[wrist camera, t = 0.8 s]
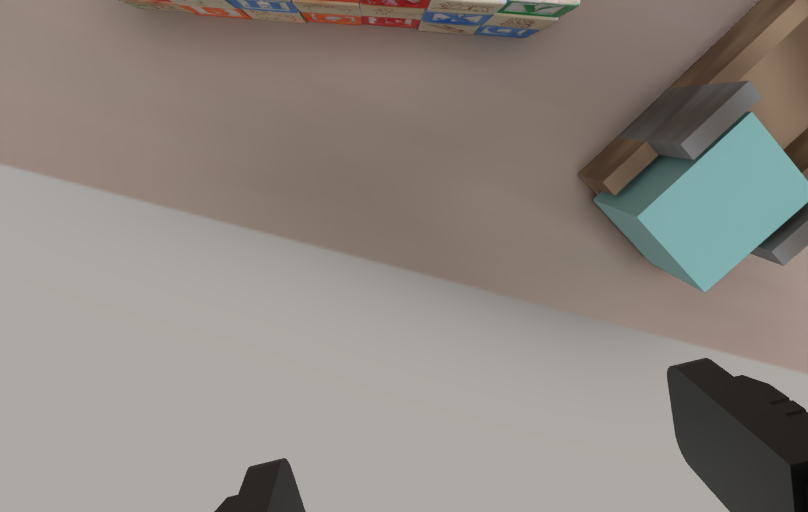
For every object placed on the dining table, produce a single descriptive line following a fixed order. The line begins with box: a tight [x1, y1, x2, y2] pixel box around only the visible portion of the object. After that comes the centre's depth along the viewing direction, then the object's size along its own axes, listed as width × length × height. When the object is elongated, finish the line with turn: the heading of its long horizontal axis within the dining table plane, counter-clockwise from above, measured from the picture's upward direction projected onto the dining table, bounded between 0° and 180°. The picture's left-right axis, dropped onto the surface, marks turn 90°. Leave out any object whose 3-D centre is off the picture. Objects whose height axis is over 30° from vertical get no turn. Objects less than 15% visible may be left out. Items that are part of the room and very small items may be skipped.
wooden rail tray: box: [578, 0, 808, 266], centre depth 31 cm, size 16×8×8 cm, turn 135°
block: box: [593, 111, 808, 293], centre depth 31 cm, size 7×5×6 cm
